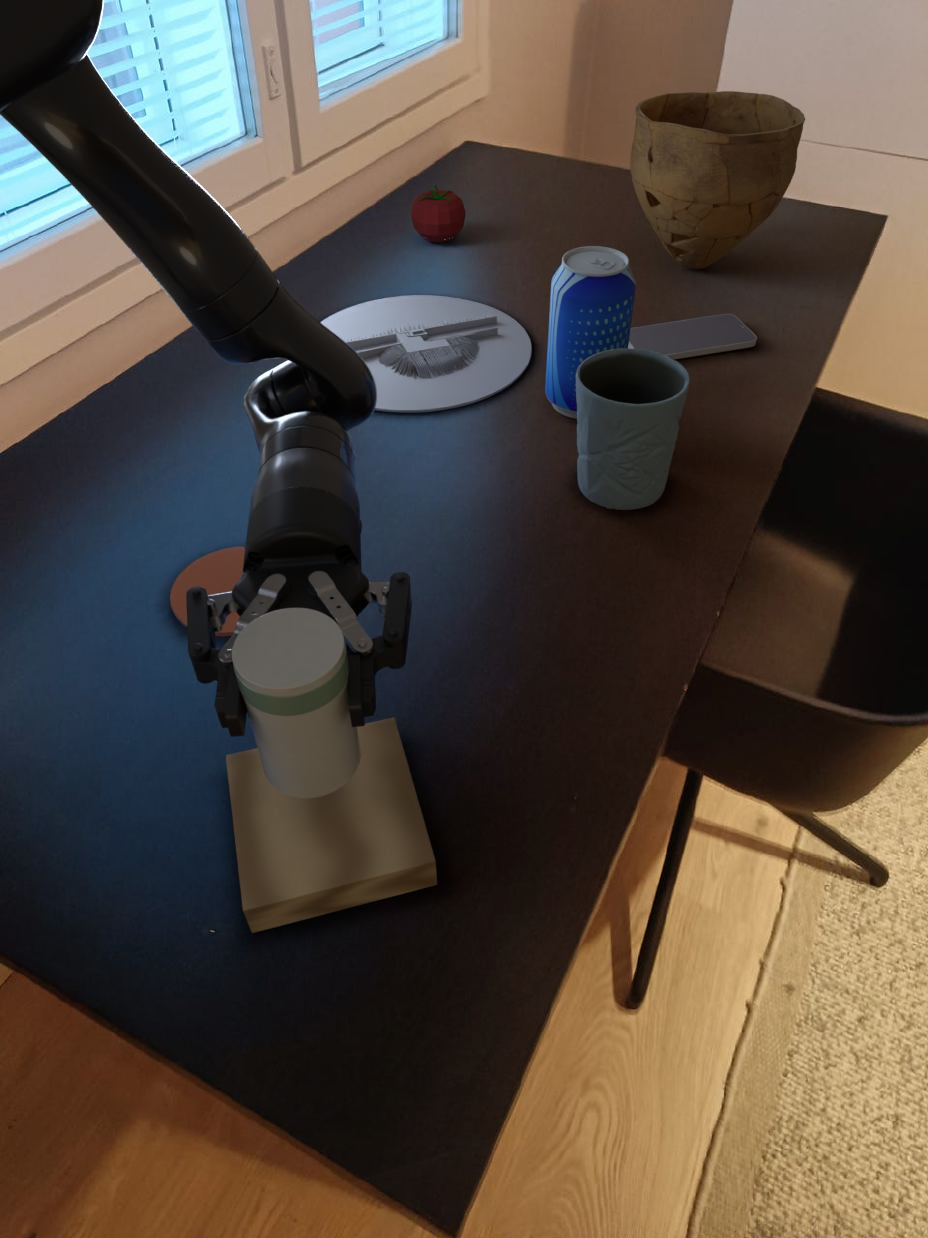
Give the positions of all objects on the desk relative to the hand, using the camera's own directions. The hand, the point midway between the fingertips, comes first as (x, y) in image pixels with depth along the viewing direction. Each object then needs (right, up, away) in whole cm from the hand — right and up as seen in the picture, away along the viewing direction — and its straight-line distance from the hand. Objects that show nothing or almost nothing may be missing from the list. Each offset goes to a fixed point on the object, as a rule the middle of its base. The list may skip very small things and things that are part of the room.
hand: (296, 721), depth 49 cm
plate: (+3, +38, +59) cm, 71 cm away
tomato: (+6, +61, +83) cm, 103 cm away
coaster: (-11, +8, +29) cm, 32 cm away
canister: (0, -3, +6) cm, 7 cm away
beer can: (+22, +29, +50) cm, 62 cm away
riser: (0, -9, +12) cm, 15 cm away
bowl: (+41, +54, +74) cm, 100 cm away
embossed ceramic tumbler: (+24, +19, +40) cm, 50 cm away
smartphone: (+36, +39, +60) cm, 80 cm away
